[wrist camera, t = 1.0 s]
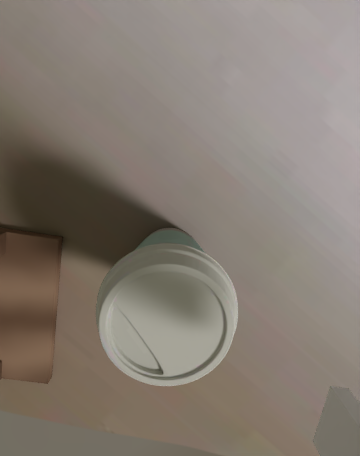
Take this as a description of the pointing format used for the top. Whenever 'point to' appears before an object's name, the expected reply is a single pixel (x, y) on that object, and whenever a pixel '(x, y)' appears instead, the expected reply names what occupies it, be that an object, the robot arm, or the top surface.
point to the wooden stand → (28, 304)
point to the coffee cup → (167, 311)
